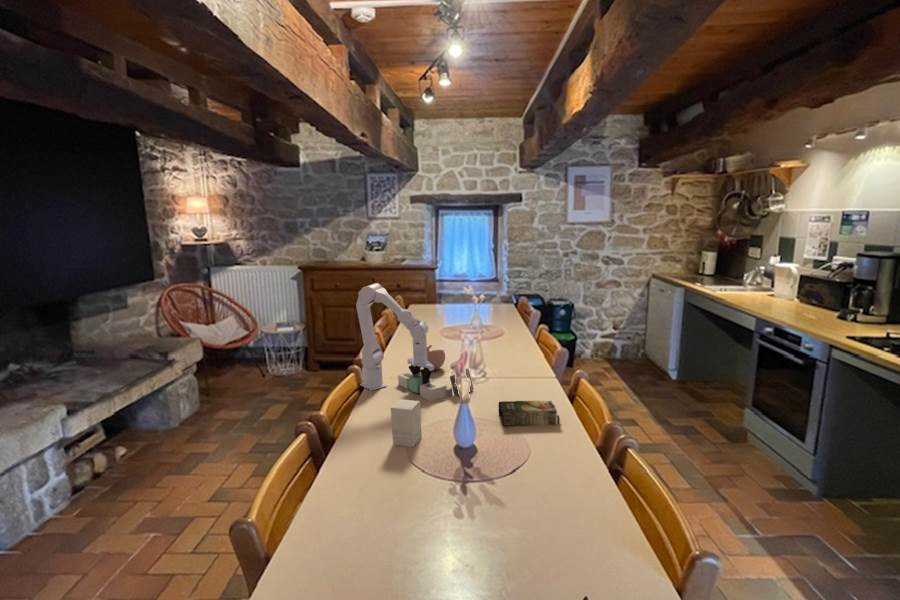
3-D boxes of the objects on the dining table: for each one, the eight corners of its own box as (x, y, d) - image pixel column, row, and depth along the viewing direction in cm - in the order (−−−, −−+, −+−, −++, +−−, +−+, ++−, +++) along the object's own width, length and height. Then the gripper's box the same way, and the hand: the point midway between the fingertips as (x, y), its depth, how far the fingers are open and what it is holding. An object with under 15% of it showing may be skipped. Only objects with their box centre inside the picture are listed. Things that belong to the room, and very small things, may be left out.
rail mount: (397, 384, 202) (396, 373, 201) (417, 378, 208) (416, 368, 207) (431, 402, 181) (431, 390, 180) (452, 395, 187) (452, 384, 186)
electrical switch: (460, 397, 185) (458, 375, 184) (450, 396, 188) (448, 373, 187) (474, 390, 192) (472, 368, 191) (464, 389, 195) (462, 367, 194)
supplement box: (422, 437, 153) (420, 400, 150) (413, 447, 146) (411, 409, 144) (401, 434, 155) (400, 398, 153) (392, 444, 148) (390, 407, 146)
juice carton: (553, 413, 168) (553, 397, 167) (560, 425, 159) (560, 409, 158) (498, 416, 168) (498, 400, 167) (501, 428, 159) (501, 411, 157)
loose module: (409, 390, 192) (408, 376, 191) (422, 385, 197) (421, 371, 196) (417, 393, 189) (416, 379, 188) (430, 388, 194) (429, 374, 192)
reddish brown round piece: (439, 363, 228) (438, 341, 226) (449, 370, 217) (449, 346, 215) (416, 367, 223) (415, 344, 221) (426, 375, 212) (425, 350, 210)
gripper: (401, 350, 193) (402, 381, 196) (424, 357, 183) (425, 390, 185) (414, 346, 198) (415, 377, 200) (437, 353, 188) (438, 385, 190)
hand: (421, 383), depth 193 cm, fingers closed on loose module, 5 cm apart
